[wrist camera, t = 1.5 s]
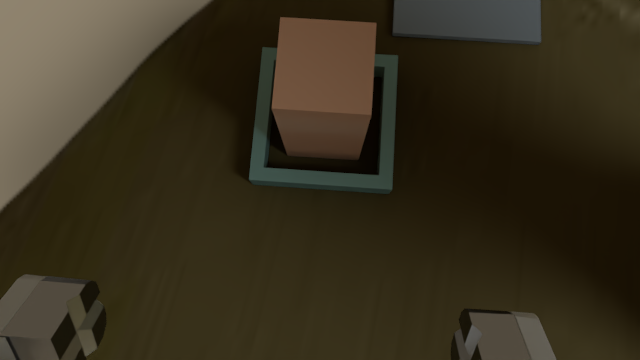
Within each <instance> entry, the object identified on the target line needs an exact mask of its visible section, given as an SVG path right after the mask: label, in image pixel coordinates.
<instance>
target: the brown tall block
mask: <svg viewBox="0 0 640 360" xmlns="http://www.w3.org/2000/svg"><path fill="white" fill-rule="evenodd" d="M376 25H377V23H370V22H354V21H337V20H320V19H304V18H287V17H280V27H279V37H278V48H277V58H276V68H275V79H274V89H273V99H272V111H273V114H274V117H275V120H276V123H277V126H278V129H279V132H280V135H281V138H282V141H283V144H284V147H285V150H286V153H287V156H298V157H313V158H328V159H343V160H357V161H358V160H359V156H360V153H361V150H362V146H363V143H364V139H365V136H366V132H367V129H368V126H369V122H370V119H371V115H372V98H373V80H374V61H375V43H376Z"/></svg>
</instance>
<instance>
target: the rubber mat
mask: <svg viewBox="0 0 640 360" xmlns="http://www.w3.org/2000/svg"><path fill="white" fill-rule="evenodd" d="M392 36H402V37H419V38H435V39H452V40H468V41H485V42H501V43H518V44H534V45H539V44H540V42H541V10H540V0H394V10H393V31H392Z"/></svg>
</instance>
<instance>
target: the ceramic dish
mask: <svg viewBox="0 0 640 360" xmlns="http://www.w3.org/2000/svg"><path fill="white" fill-rule="evenodd" d="M276 58H277V48H269V47H263V48H262V57H261V67H260V77H259V86H258V96H257V105H256V115H255V125H254V134H253V144H252V154H251V163H250V173H249V181H250V182H251V183H252V184H253V185H266V186H280V187H295V188H309V189H323V190H338V191H352V192H367V193H381V194H389V193H390V192H391V191H392V184H393V161H394V139H395V116H396V94H397V71H398V55H382V54H375V61H374V77H382V81H381V101H380V120H379V140H378V160H377V175H366V174H352V173H337V172H322V171H308V170H293V169H279V168H267V167H268V156H269V146H270V135H271V125H272V115H273V111H272V99H273V89H274V79H275V68H276Z"/></svg>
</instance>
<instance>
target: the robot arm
mask: <svg viewBox="0 0 640 360" xmlns="http://www.w3.org/2000/svg"><path fill="white" fill-rule="evenodd" d="M99 293H100V291H99V288H98V285H97V283H96V282H95V281H90V280H80V279H70V278H60V277H51V276H38V275H27V274H25V275H23V276H22V277H20V278H18V279H17V280H16V281H15V283H14V284H13V285H12V286H11V288H10V289H9V290H8V291H7V292H6V294H5V295H4V296H3V297H2V299H1V300H0V360H87V359H86V356H87V355H88V354H90V353H91V352H93V351H94V350H95V349H97V348H98V346H99V344H100V342H101V340H102V338H103V335H104V331H105V327H106V311H105V308H104V306H103V305H102V304H101V303H100V302H99V301H98V300H96V298H97V297H98V295H99ZM459 323H460V327H461V329H459V330H458V331H456V332H455V333H454V336H453V339H452V343H451V360H556V358H555V355H554V353H553V351H552V348H551V346H550V344H549V342H548V339H547V337H546V335H545V332H544V330H543V328H542V325H541V323H540V321H539V318H538V317H537V316H536V315H535V314H534V313H522V312H508V311H497V310H481V309H466V308H465V309H464V310H463V311H462V312H461V315H460V317H459Z"/></svg>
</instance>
